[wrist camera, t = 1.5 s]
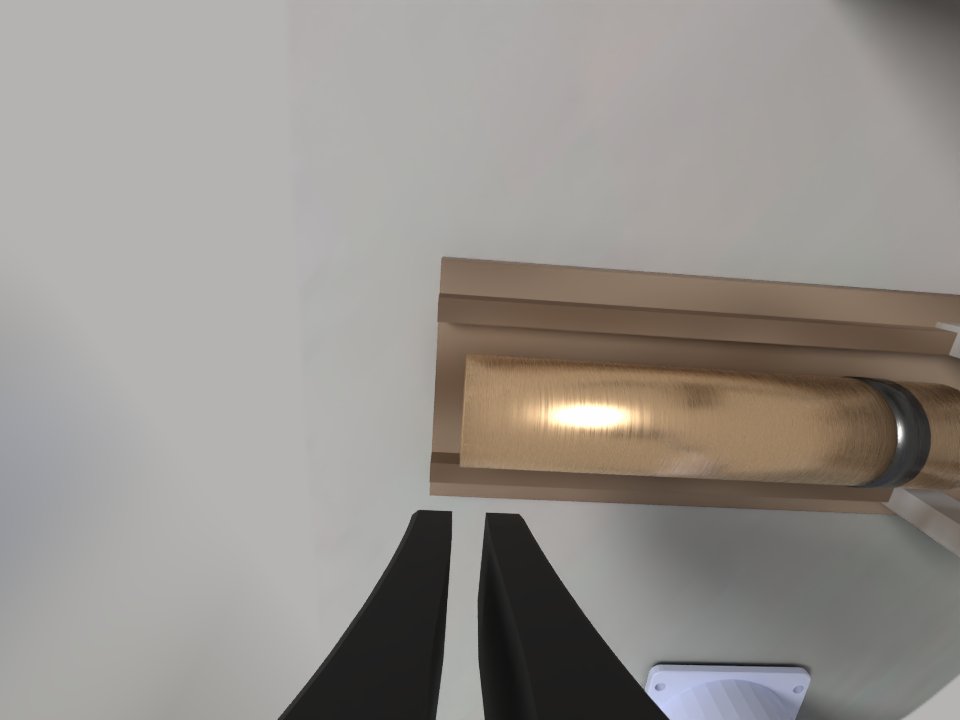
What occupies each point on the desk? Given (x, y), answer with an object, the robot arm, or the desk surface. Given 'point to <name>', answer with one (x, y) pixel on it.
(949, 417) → the thermos bottle
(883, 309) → the board
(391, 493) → the desk surface
